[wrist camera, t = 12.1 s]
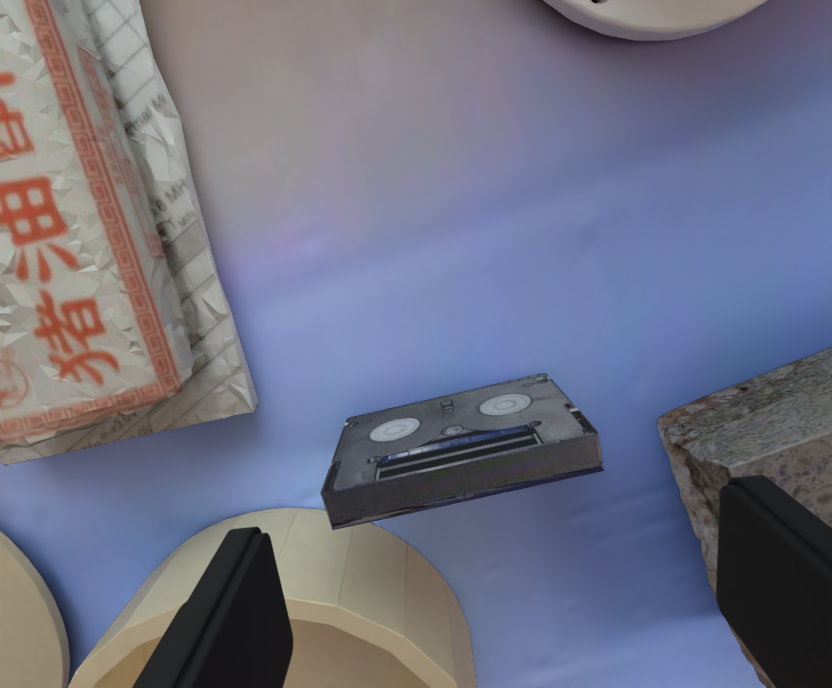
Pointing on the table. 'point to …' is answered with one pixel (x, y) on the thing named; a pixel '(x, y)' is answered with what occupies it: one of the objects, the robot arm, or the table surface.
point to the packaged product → (101, 242)
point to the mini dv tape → (457, 450)
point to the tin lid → (29, 626)
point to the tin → (312, 608)
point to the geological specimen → (754, 448)
